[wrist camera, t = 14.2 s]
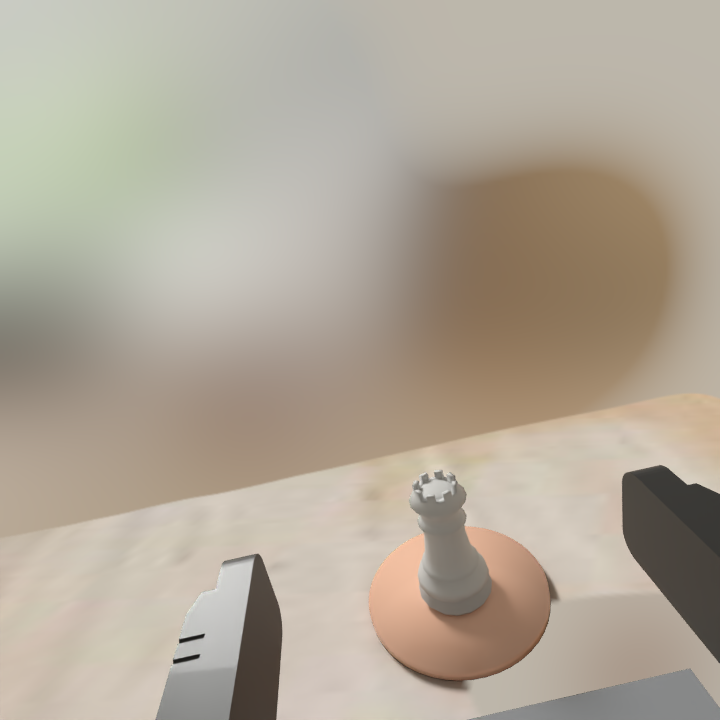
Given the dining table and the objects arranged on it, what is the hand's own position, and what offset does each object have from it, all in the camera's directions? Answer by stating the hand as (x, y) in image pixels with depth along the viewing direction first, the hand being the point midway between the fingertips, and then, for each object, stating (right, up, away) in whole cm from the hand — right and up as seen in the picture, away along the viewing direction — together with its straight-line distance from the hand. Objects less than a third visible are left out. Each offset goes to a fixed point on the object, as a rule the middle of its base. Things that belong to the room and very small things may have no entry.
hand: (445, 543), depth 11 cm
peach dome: (+4, -11, +20) cm, 23 cm away
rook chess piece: (+4, -10, +20) cm, 23 cm away
